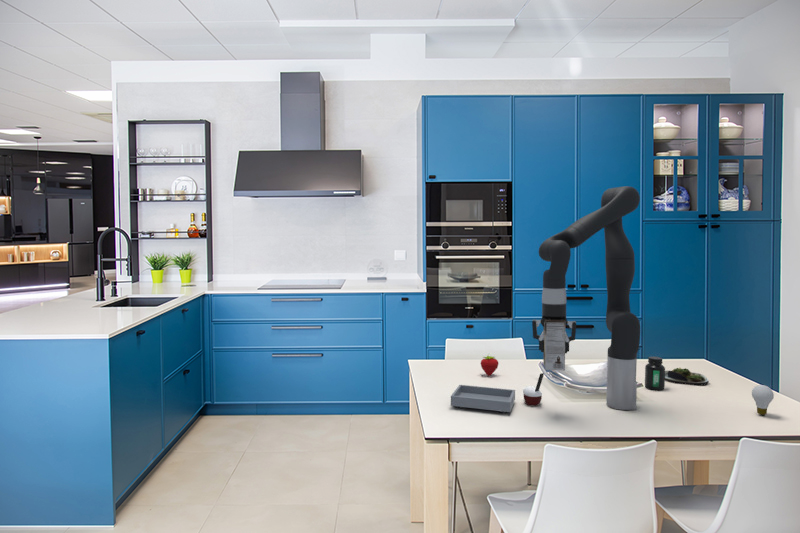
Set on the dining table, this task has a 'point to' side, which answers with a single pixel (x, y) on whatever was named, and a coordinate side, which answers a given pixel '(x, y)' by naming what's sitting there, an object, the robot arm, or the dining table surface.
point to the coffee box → (554, 344)
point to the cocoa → (533, 393)
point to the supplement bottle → (655, 374)
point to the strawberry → (489, 365)
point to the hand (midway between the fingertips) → (553, 352)
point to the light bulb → (762, 398)
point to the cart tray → (483, 398)
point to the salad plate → (685, 377)
